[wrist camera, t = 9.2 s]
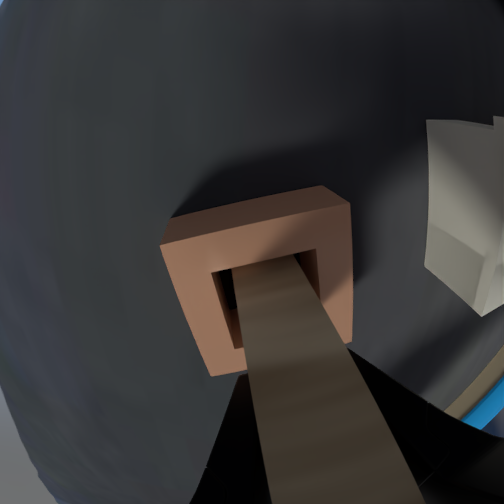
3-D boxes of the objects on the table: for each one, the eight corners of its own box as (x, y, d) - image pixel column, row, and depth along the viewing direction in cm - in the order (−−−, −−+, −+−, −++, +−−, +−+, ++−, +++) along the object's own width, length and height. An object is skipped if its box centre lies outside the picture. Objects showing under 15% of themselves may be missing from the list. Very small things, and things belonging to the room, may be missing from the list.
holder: (331, 307, 16) (351, 341, 13) (209, 336, 16) (211, 376, 13) (321, 185, 13) (349, 203, 10) (170, 218, 13) (159, 245, 10)
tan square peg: (297, 301, 14) (409, 560, 3) (243, 314, 13) (303, 595, 3) (291, 252, 12) (448, 555, 2) (230, 265, 12) (296, 610, 1)
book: (410, 464, 26) (547, 322, 18) (399, 441, 30) (526, 303, 22) (456, 451, 32) (555, 345, 24) (447, 435, 36) (541, 330, 27)
